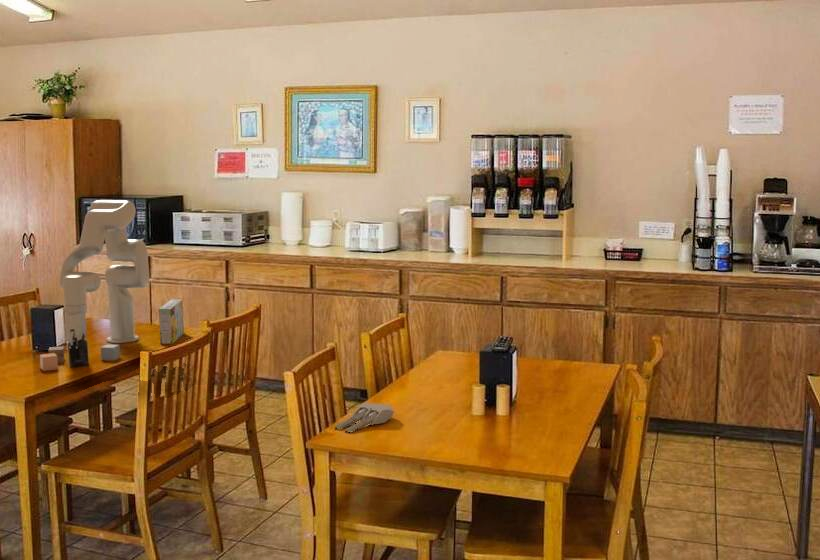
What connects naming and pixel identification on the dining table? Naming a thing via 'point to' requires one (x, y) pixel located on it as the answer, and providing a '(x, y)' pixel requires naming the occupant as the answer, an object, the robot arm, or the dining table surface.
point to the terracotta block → (48, 362)
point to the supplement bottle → (83, 353)
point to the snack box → (171, 321)
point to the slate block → (110, 352)
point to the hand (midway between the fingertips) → (78, 356)
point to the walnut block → (57, 353)
